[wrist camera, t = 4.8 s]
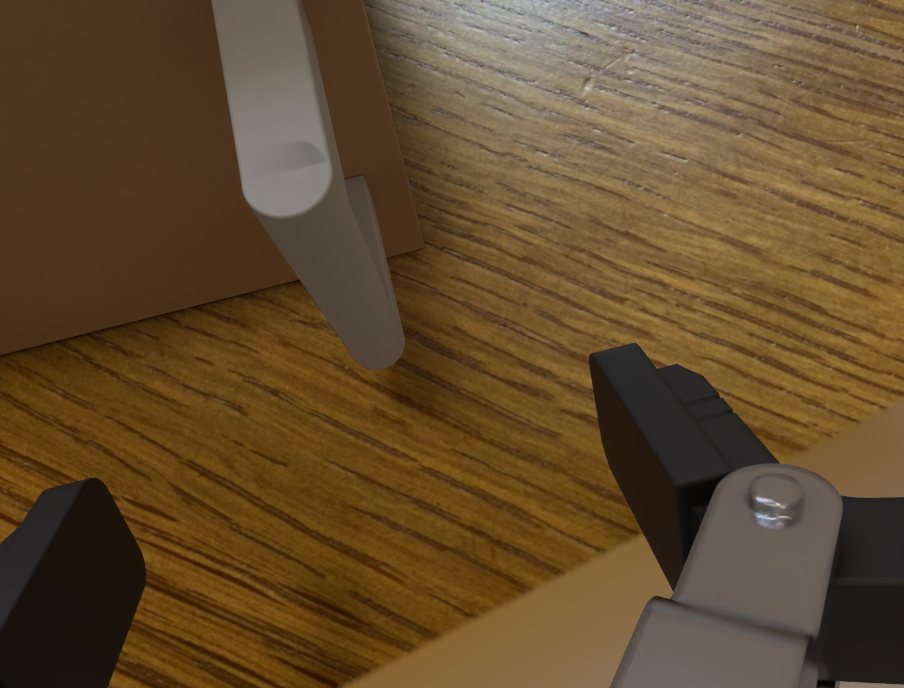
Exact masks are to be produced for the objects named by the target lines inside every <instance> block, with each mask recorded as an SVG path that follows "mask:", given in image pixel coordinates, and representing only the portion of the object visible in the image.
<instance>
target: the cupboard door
mask: <svg viewBox="0 0 904 688" xmlns="http://www.w3.org/2000/svg"><path fill="white" fill-rule="evenodd" d="M422 248H425V243H424V239H423V235H422V231H421V227H420V223H419V219H418V215H417V212H416V208H415V204H414V200H413V196H412V192H411V188H410V184H409V180H408V176H407V172H406V168H405V164H404V160H403V156H402V152H401V148H400V144H399V140H398V136H397V132H396V128H395V125H394V121H393V117H392V113H391V109H390V105H389V101H388V97H387V93H386V89H385V85H384V81H383V77H382V73H381V69H380V65H379V61H378V57H377V53H376V49H375V45H374V41H373V38H372V34H371V30H370V26H369V22H368V18H367V14H366V10H365V6H364V2H363V0H0V355H2V354H6V353H10V352H14V351H18V350H22V349H26V348H30V347H34V346H38V345H42V344H46V343H50V342H54V341H58V340H62V339H66V338H70V337H74V336H78V335H82V334H86V333H90V332H93V331H97V330H101V329H105V328H109V327H113V326H117V325H121V324H125V323H129V322H133V321H137V320H141V319H145V318H149V317H153V316H157V315H161V314H165V313H169V312H173V311H177V310H181V309H185V308H189V307H193V306H197V305H200V304H204V303H208V302H212V301H216V300H220V299H224V298H228V297H232V296H236V295H240V294H244V293H248V292H252V291H256V290H260V289H264V288H268V287H272V286H276V285H280V284H284V283H288V282H292V281H296V280H300V281H301V282H302V284H303V285H304V287H305V288H306V290H307V291H308V292H309V294H310V295H311V297H312V298H313V300H314V301H315V303H316V304H317V306H318V307H319V309H320V310H321V312H322V313H323V315H324V316H325V317H326V319H327V320H328V322H329V323H330V325H331V326H332V328H333V329H334V331H335V332H336V334H337V335H338V337H339V338H340V340H341V341H342V342H343V344H344V345H345V347H346V348H347V350H348V351H349V353H350V354H351V356H352V357H353V359H354V360H355V361H356V362H357V363H358V364H359V365H361V366H362V367H364V368H367V369H371V370H380V369H384V368H387V367H389V366H391V365H393V364H394V363H395V362H396V361H397V360H398V359H399V358H400V356H401V355H402V353H403V350H404V347H405V337H404V332H403V328H402V324H401V319H400V315H399V311H398V306H397V302H396V298H395V294H394V289H393V285H392V281H391V276H390V272H389V268H388V263H387V259H386V258H387V257H391V256H395V255H399V254H403V253H407V252H410V251H414V250H418V249H422Z"/></svg>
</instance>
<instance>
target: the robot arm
mask: <svg viewBox="0 0 904 688" xmlns="http://www.w3.org/2000/svg"><path fill="white" fill-rule="evenodd" d="M589 365H590V372H591V378H592V385H593V391H594V397H595V403H596V409H597V415H598V422H599V428H600V434H601V439H602V443H603V448H604V451H605V455H606V458H607V461H608V464H609V466H610V469H611V471H612V473H613V475H614V477H615V479H616V481H617V483H618V485H619V487H620V489H621V491H622V493H623V495H624V497H625V499H626V501H627V502H628V504H629V506H630V508H631V510H632V512H633V514H634V516H635V518H636V520H637V522H638V524H639V526H640V528H641V530H642V532H643V534H644V536H645V537H646V539H647V541H648V543H649V545H650V547H651V549H652V551H653V553H654V555H655V557H656V559H657V560H658V563H659V565H660V567H661V569H662V571H663V573H664V574H665V576H666V578H667V580H668V582H669V584H670V586H671V588H672V590H673V592H674V593H673V595H672V597H671V598H670V599H667V598H663V597H659V596H654V597H653V598H651V599H650V600H649V602H648V603H647V605H646V606H645V608H644V610H643V612H642V614H641V616H640V619H639V621H638V624H637V626H636V628H635V630H634V632H633V635H632V637H631V639H630V642H629V644H628V646H627V649H626V651H625V654H624V656H623V658H622V661H621V663H620V665H619V667H618V670H617V672H616V674H615V677H614V679H613V681H612V684H611V686H610V688H839V684H840V681H846V682H865V683H886V684H904V497H898V498H897V497H896V498H855V497H846V496H840V495H839V493H838V491H837V490H836V489H835V488H834V486H833V485H832V484H831V483H830V482H828V481H827V480H826V479H825V478H823V477H821V476H820V475H818V474H816V473H814V472H811V471H809V470H807V469H803V468H800V467H797V466H792V465H787V464H780V463H779V462H778V461H777V459H776V458H775V457H774V456H773V455H772V454H771V453H770V451H769V450H768V449H767V448H766V447H765V446H764V445H763V443H762V442H761V441H760V440H759V439H758V438H757V437H756V436H755V434H754V433H753V432H752V431H751V430H750V429H749V428H748V426H747V425H746V424H745V423H744V422H743V421H742V420H741V418H740V417H739V416H738V415H737V414H736V413H733V411H732V408H731V407H730V406H729V405H728V404H727V403H726V401H725V400H724V399H723V398H720V396H719V394H718V392H717V391H716V390H715V389H714V388H713V387H712V386H711V384H710V383H709V382H708V381H707V380H706V379H705V378H704V376H702V375H700V374H697V373H695V372H693V371H691V370H689V369H687V368H684V367H682V366H680V365H678V364H675V365H671V366H667V367H663V368H659V369H657V368H656V367H655V366H654V365H653V363H652V362H651V361H650V359H649V358H648V357H647V356H646V354H645V353H644V352H643V350H642V349H641V348H640V346H639V345H638V344H637V343H631V344H627V345H623V346H619V347H615V348H611V349H607V350H603V351H600V352H596V353H592V354H590V356H589ZM145 580H146V571H145V563H144V559H143V555H142V552H141V550H140V548H139V546H138V544H137V542H136V540H135V539H134V537H133V535H132V533H131V531H130V529H129V527H128V526H127V524H126V522H125V520H124V518H123V516H122V514H121V512H120V511H119V509H118V507H117V505H116V503H115V501H114V499H113V498H112V496H111V494H110V492H109V490H108V489H107V487H106V486H105V484H104V483H103V482H102V481H101V480H99V479H97V478H89V479H85V480H81V481H77V482H73V483H69V484H65V485H61V486H57V487H53V488H49V489H46V490H45V491H43V492H42V493H41V495H40V496H39V497H38V499H37V501H36V502H35V504H34V505H33V507H32V508H31V510H30V511H29V513H28V514H27V516H26V518H25V519H24V521H23V522H22V524H21V525H20V527H19V528H17V529H16V530H15V531H14V532H13V533H12V534H11V535H9V536H8V537H7V538H6V539H5V540H4V541H3V542H2V543H1V544H0V688H108V685H109V682H110V680H111V677H112V674H113V671H114V669H115V666H116V663H117V661H118V658H119V655H120V653H121V650H122V647H123V644H124V642H125V639H126V636H127V634H128V631H129V628H130V626H131V623H132V620H133V617H134V615H135V612H136V609H137V607H138V604H139V601H140V599H141V596H142V593H143V590H144V587H145Z"/></svg>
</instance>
